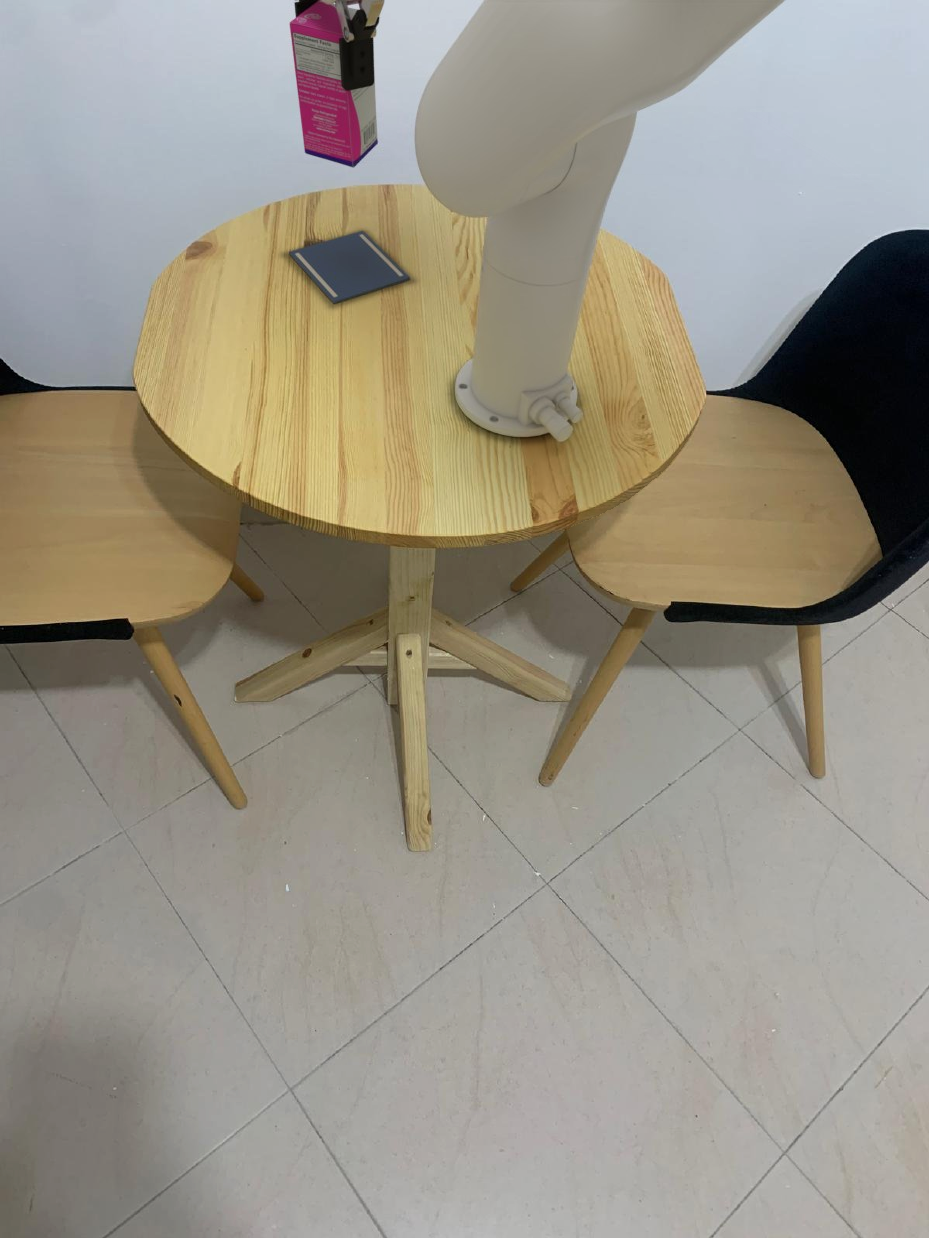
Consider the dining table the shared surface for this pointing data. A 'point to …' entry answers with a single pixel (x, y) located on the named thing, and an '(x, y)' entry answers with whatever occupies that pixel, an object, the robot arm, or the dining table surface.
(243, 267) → the dining table surface
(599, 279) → the dining table surface
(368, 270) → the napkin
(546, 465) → the dining table surface
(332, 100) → the supplement box
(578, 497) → the dining table surface
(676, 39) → the robot arm
